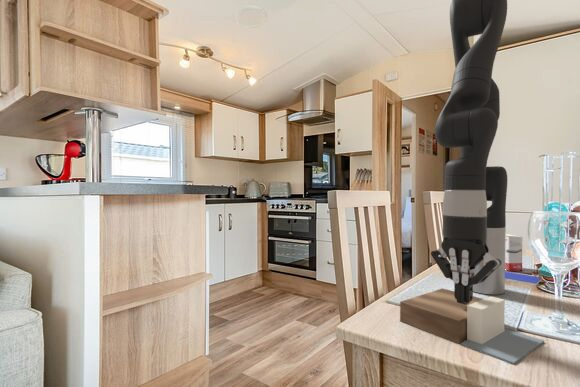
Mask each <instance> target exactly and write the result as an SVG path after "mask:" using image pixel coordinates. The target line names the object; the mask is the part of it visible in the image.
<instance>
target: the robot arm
mask: <svg viewBox="0 0 580 387" xmlns="http://www.w3.org/2000/svg"><path fill="white" fill-rule="evenodd" d="M449 6H450V7H449V23H450V24H449V26H450V35H451V41H452V50H453V56H454V58H453V59H454V68H455V70H454V71H453V75H452V81H451V89H450V94H449V97H448V98H447V101H446V102H445V104H444V106H443V108H442V109H441V111H440V113H439V116H438V118H437V119H436V123H435V127H434V136H435V137H434V138H435V140H436V142H437V144H438V145H439V146H441V147H442V148H446V149H451V148H452V149H453V148H459V150H460V152H459V153H460V155H459V156H460V158H456V159H452V160H448V162H446V164H445V167H444V193H443V199H442V237H443V240H442V242H441V246H440V247H439V248H437V249H436V250H435V249H434V250H432V251H430V256H431V257H432V259H433V260H434V261H435V263H436V265H437V266H438V268H439V270H440V271H441V273H442V275H443V276H444V277H445V278H446V279H450V280H451V281H453V283H454V289H453V291H454V296H455V299H457V303H461V304H464V305H466V304H469V303H470V301H472V299H473V296H474V292H475V293H477V294H478V293H479V294H484V295H492V296H494V295H503V294H505V293H506V280H505V272H506V270H505V241H506V239H505V236H506V234H507V232H506V229H507V228H506V222H507V221H506V206H507V205H506V204H507V195H508V194H507V193H508V192H507V191H508V173H507V169H506V168H505V167H503V166H488V165H487V164H488V159H489V157H490V156H489V155H490V152H491V148H492V147H493V146H492V145H493V143H494V140H495V138H496V134H497V130H498V124H499V119H500V114H501V112H500V110H501V107H500V106H501V105H500V104H501V102H500V88H499V86H498V85H497V83H496V82H495V80H494V79H493V77H492V75H493V68H494V63H495V61H496V60H495V59H496V56H497V53H498V49H499V46H500V44H501V40H502V36H503V32H504V29H505V25H506V21H507V15H508V0H451V3H450V5H449ZM479 35H480V36H479ZM475 36H479V38H478V39H477V40H476V41H475V42H474V44H473V45H470V41H469V38H470V37H475ZM488 202H491V205H489V206H488Z"/></svg>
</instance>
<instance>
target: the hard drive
mask: <svg viewBox="0 0 580 387" xmlns="http://www.w3.org/2000/svg"><path fill="white" fill-rule="evenodd" d="M539 277H540V276H535V275H528V274H522V273H516V272H512V271H505V281H508V282H514V283H520V284H525V285H530V286H531V285H533V286H538V285H539V284H538V283H539V281H540V278H539Z"/></svg>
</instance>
